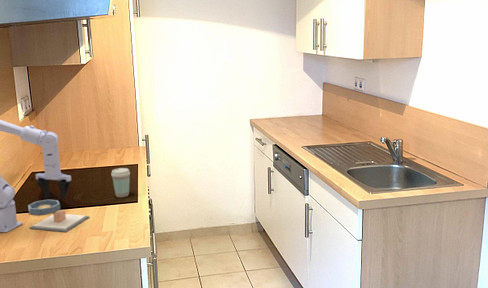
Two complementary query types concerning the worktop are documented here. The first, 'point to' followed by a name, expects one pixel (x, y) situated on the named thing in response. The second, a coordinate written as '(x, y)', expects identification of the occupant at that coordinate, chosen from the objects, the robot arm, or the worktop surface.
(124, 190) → the coffee cup
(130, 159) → the worktop surface
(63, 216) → the lid
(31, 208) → the dish
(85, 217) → the mat
